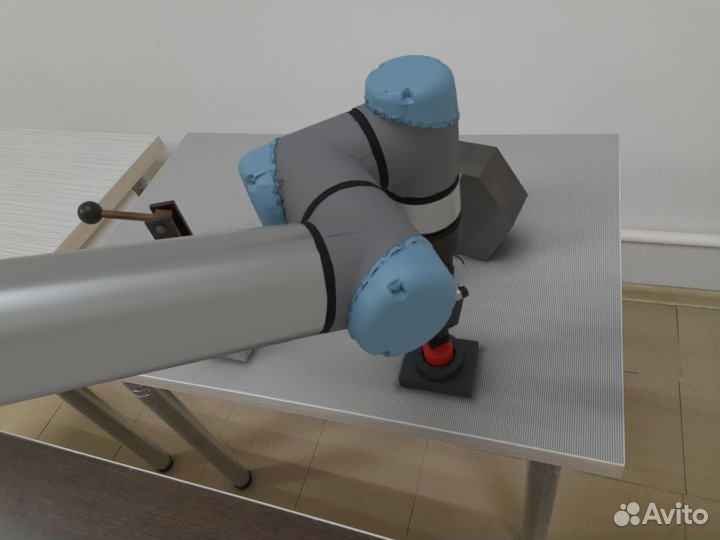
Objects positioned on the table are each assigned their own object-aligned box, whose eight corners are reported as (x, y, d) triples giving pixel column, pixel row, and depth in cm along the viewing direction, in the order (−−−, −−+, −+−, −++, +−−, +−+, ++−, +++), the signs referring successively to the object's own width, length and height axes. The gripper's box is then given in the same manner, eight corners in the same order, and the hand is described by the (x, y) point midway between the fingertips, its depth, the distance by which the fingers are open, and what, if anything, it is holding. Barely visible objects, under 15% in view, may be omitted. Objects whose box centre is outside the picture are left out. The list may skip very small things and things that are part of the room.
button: (421, 364, 72) (420, 356, 71) (427, 340, 75) (426, 332, 73) (450, 368, 71) (449, 360, 69) (455, 344, 73) (454, 335, 72)
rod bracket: (160, 280, 97) (126, 231, 88) (167, 250, 103) (136, 201, 93) (211, 272, 97) (183, 221, 87) (216, 242, 102) (190, 191, 93)
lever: (77, 228, 89) (71, 210, 86) (83, 212, 92) (79, 195, 89) (171, 235, 92) (169, 218, 89) (174, 220, 95) (173, 203, 92)
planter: (545, 219, 85) (477, 117, 77) (530, 252, 81) (457, 147, 73) (463, 239, 98) (399, 153, 90) (447, 268, 94) (378, 180, 86)
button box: (400, 386, 74) (396, 371, 71) (412, 340, 79) (409, 324, 76) (471, 398, 71) (470, 383, 68) (478, 349, 76) (478, 333, 73)
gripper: (491, 235, 50) (489, 366, 67) (425, 166, 58) (438, 298, 75) (422, 267, 48) (437, 392, 66) (365, 192, 57) (391, 320, 74)
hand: (437, 341), depth 71 cm, fingers closed
